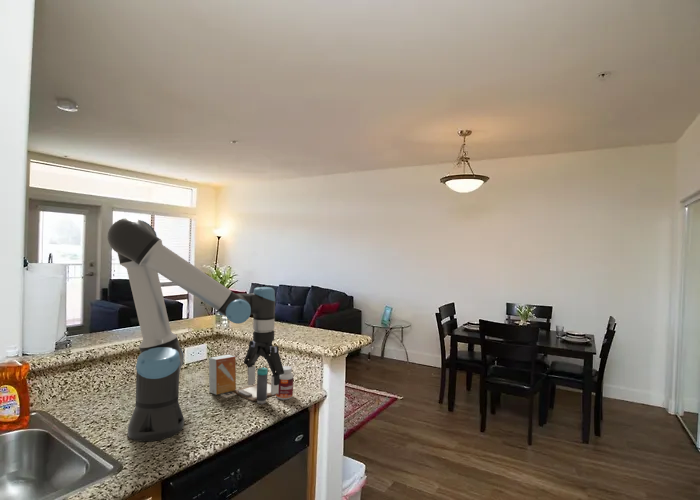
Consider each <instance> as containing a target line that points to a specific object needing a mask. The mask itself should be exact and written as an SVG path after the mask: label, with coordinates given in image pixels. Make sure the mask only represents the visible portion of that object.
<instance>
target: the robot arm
mask: <svg viewBox="0 0 700 500" xmlns="http://www.w3.org/2000/svg"><path fill="white" fill-rule="evenodd" d="M107 241H108V244H109V246H110V247H111V249H112V250H113V251H114V252H115V253H117V257H118V262H119V264H120V266H122V267H123V268H125V269H126V272H127V277H128V279H129V280H128V281H129V285H130V288H131V292H132V297H133V302H134V306H135V310H136V315H137V319H138V323H139V328H140V332H141V336H142V337H141V338H142V341H141V342H140V344H139V346H138V347H139V351H140V354H139V355H138V356H137V359H136V360H137V361H136V364H135V370H136V374H135V375H136V378H135V381H136V382H135V405H134V406H135V407H134V409H133V412H132V415H131V417H130V420H129V423H128V425H127V426H128V427H127V436H128V438H129V439H131V440H133V441H137V442H155V441H160V440H164V439H168V438H170V437H173V436H174V435H175V436H176V435H177V434H179V433H180V432H181V431H182V430H183V429H184V426H185V425H184V424H185V419H184V413H183V412H182V407H181V406H180V403H179V396H180V395H179V392H180V374H181V369H182V366H183V364H184V352H183V350H182V348H181V346H180V342H179V340H178V335H177V334H175V333H173V332H172V330H171V326H170V320H169V317H168V313H167V308H166V307H167V306H166V304H165V298H164V294H163V289H162V286H161V282H160V280H161V279H160V277H159V275H161V276H162V277H164V278H166V280H169V281H170V282H172V283H174V284H175V285H176V286H178V287H179V288H180V289H183V290H184V291H186V292H187V293H189V294H190V295H192V296H194V297H195V298H197V299H198V300H200V301H201V302H203V303H205V304H206V305H208V306H209V307H211V308H213V309H214V310H216V311H217V312H218V314H219V316H224V317H226V319H227V320H228V321H230V322H231V323H233V324H236V325H237V324H239V325H240V324H243V323H245V322H246V321H248V320H249V318H250V316H251V315H253V317H252V318H253V323H252V329H253V332H252V340H250V341H249V343H248V344H249V345H248V348H247V352H246V354H245V357H244V360H243V364H244V365H246V367H247V386H251V385H255V384H256V362H257V361H258V359H259V358H260V357H262V358H264V359H265V360H266V362H267V364H268V366H269V368H270V371H271V373H272V375H271V378H270V379H271V381H270V383H271V395H272V396H275V395H276V394H277V393H279V380H280V375H282V374H284V370H283V366H284V365H283V363H282V360H281V355H280V352H279V346H278V345H275V346H273V342H274V340H275V331H274V330H275V317H276V316H275V315H276V314H275V313H276V294H275V293H276V291H275V289H274V288H273V287H270V286H261V287H259V286H257V287H255V288H253V292H251V293H235V292H234V291H232V290H231V289H229V288H228V287H226V286H224V285H223V284H222V283H220V282H219V281H217V280H216V279H214V278H213V277H212V276H210V275H208V274H206V273H205V272H204V271H202V270H201V269H200V268H198V267H196V266H195V265H193V264H192V263H190V262H189V261H187V260H186V259H184V258H183V257H181V256H180V255H179V254H177V253H176V252H174V251H172V250H171V249H170V248H169V247H166V246H165V245H164V244H163V240H162V239H161V238H159V237H158V235H157V232H156V231H155V229H154V227H152V225H150V223H148V222H146V221H144V220H141V219H137V218H132V217H127V218H126V217H125V218H124V217H123V218H121V219H117V221H115V222H114V223H113V224H112V225H111V226H110V227H109V229H108V231H107ZM274 394H275V395H274Z"/></svg>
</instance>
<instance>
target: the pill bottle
mask: <svg viewBox="0 0 700 500" xmlns="http://www.w3.org/2000/svg"><path fill="white" fill-rule="evenodd" d="M282 366H283V370H284V374H282V375H280V380H279V393H277V394H275V397H276V398H277V399H278V400H282V401H283V400H284V401H286V400H290V399H292V398H293V395H294V374H293V372H292V371H293V368H292V366H288V365H282Z"/></svg>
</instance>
